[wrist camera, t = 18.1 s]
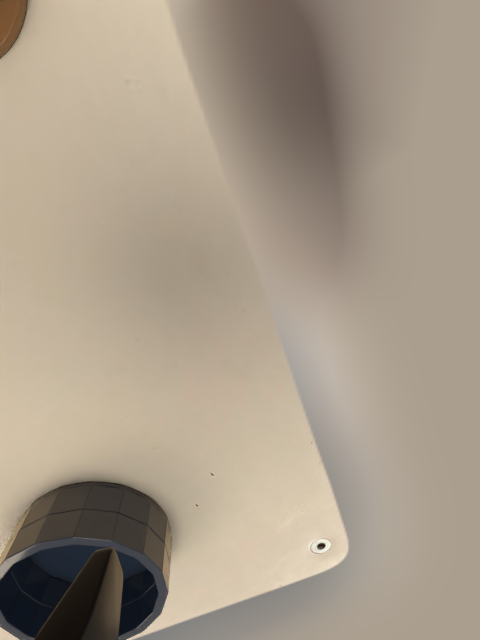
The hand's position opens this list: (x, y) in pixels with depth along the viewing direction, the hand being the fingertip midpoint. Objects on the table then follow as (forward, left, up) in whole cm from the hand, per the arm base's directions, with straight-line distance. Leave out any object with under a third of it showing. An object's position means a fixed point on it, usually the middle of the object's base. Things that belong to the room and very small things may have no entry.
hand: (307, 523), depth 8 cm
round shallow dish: (+12, +15, -13) cm, 23 cm away
